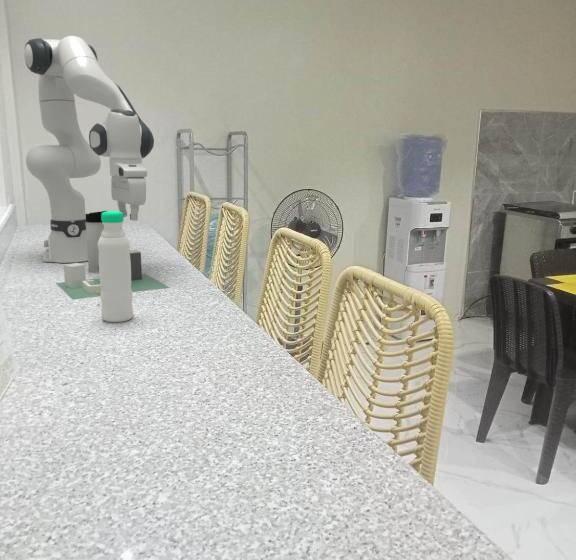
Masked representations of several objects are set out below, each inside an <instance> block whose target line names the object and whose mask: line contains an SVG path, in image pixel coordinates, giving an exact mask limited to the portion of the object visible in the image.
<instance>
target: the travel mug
mask: <svg viewBox="0 0 576 560" xmlns="http://www.w3.org/2000/svg"><path fill="white" fill-rule="evenodd" d="M106 211H107V210H103V211H95V212H94V211H93V212H89V213H85V215H86V233H87V249H88V261H87V262H88V263H87V264H88V273H89V274H99V249H98V241H99V238H100V237H101V233H102V231H103V229H104V225H103V224H102V223H103V222H102V220H101V214H102V213H103V212H106Z"/></svg>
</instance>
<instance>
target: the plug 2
mask: <svg viewBox="0 0 576 560" xmlns="http://www.w3.org/2000/svg"><path fill="white" fill-rule="evenodd" d="M129 252H130V260H131V281H133V280H142V274H143V273H142V252H141V251H138V250H137V249H134V250H133V249H131V250H130V249H129Z"/></svg>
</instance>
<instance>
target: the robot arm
mask: <svg viewBox="0 0 576 560" xmlns="http://www.w3.org/2000/svg"><path fill="white" fill-rule="evenodd" d="M23 57H24V62H25V65H26V67H27V68H28V70H29V71H30V72H31V73H33V74H36V75H38V99H39V100H38V102H39V109H40V117H41V123H42V127H43V128H44V129H45V131H47V132H48V133H50V134H52V135H53V136H54V138H55V139H56V140H57V142H58V144H43V145H39V146H34V147H31V148H30V149H29V151H28V152H27V155H26V157H25V163H26V164H25V165H26V167H27V169H28V171H29V174H31V175H32V176H33V177H34V178H35V179H37V180H38V181H40V183H41V184H42V185H43V187H44V189H45V190H46V193H47V196H48V200H49V206H50V214H51V219H50V224H49V226H50V230H51V231H50V233H49V235H48V237H47V239H45V240H44V241H43V248H46V249H45V251H43V253H42V262H46V263H59V264H63V263H64V264H72V263H80V262H88V249H87V233H86V204H85V203H86V202H85V199H86V198H85V197H84V195H83V194H82V192H80V191H79V190H76V189H74V187H73V186H72V183H71V180H70V179H79V178H80V179H81V178H87V177H92V176H94V175H96V174H97V173H98V172H99V171H100V169H101V163H102V161H101V157H106V158H108V159H109V160H108V161H109V175H110V177H111V180H110V185H111V186H110V189H111V190H110V192H111V193H110V194H111V199H112V200H113V201H116V202H117V208H118V211H119V212H122V213H123V216H124V218H127V217H128V211H127V208H126V207H127V206H126V205H129V208H130V213H129V220H131V221H133V222H134V221H135V222H136V221H138V219H139V212H140V211H139V210H140V206H143V205H145V203H146V199H147V181H146V178H147V177H148V170H147V168H146V167H145V166H144V164H143V159H144V158H146V157H148V155H149V154H151V151H152V150H153V149H154V147H155V146H154V145H155V139H154V135H153V133H152V131H151V129H150V128H149V127H148V125H147V124H146V123H145V122H144V121H143V120H142V119H141V117H140V116H139V114H138V113H137V111H136V110H135V108H134V106H133V105H132V103H131V101H130V99H129V98H128V97H127V96H126V94H125V92H124V91H123V89H122V88H121V87H120V85H118V84H117V83H116V82H115V81H113V80H112V79H111V78H110V77H109V76H108V75H107V74H106V73H105V71H104V70H103V69H102V68H101V66H100V63H99V62H98V55H97V51H96V50H95V48H94V46H92V45H90V44H87V42H86V41H85V40H84V39H83V38H82V37H79V36H77V35H68V36H65V37H63V38H61V39H53V38H52V39H48V38H47V39H42V38H32V39H29V40H28V41H27V42H26V43H25V46H24V53H23ZM75 96H77V97H78V98H80V99H83V100H85V101H89V102H92V103H93V102H94V103H95V104H99V105H102V106H104V107H106V108H107V109H110V110H109V111H108V113H107V117H106V118H105V119H104V120H102V121H101V122H97V123H95V124H94V125H93V126H92V127H91V128H90V130H89V133H88V140H89V143H88V141H87V140H86V138H85V136H84V135H83V133H82V131H81V128H80V125H79V121H78V120H79V119H78V115H77V108H76V100H75Z"/></svg>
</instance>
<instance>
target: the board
mask: <svg viewBox="0 0 576 560" xmlns="http://www.w3.org/2000/svg"><path fill="white" fill-rule="evenodd" d="M55 284H56V286H58V287H59V288H60V289H61V290H62V291H63V292H64V293H65V294H66V295H67V296H68V297H70V298H71V300H81V299H88V298H96V297H101V285H100V278H93V279H86V281H82V287H78V288H70V287H67V286H65V281H64V282H63V281H62V282H56V283H55ZM168 288H169V289H170V288H171V287H170V286H168V285H166V284H165V283H163V282H161V281H159V280H157V279H156V278H154V277H152V276H150V275H149V274H147V273H142V280H133V281H131V290H132V293H137V292H145V291H152V290H153V291H154V290H161V289H168Z"/></svg>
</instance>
